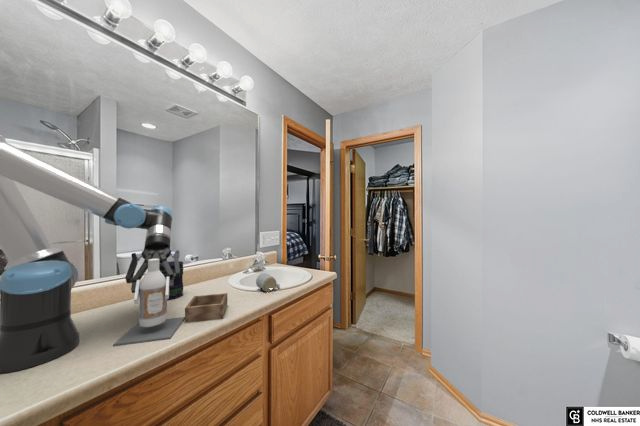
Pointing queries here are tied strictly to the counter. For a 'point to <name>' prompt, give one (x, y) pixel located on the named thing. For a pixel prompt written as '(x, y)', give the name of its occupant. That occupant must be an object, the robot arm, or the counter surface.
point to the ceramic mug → (266, 282)
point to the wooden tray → (206, 308)
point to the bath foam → (152, 296)
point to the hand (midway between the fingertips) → (151, 299)
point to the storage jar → (178, 282)
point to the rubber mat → (150, 332)
